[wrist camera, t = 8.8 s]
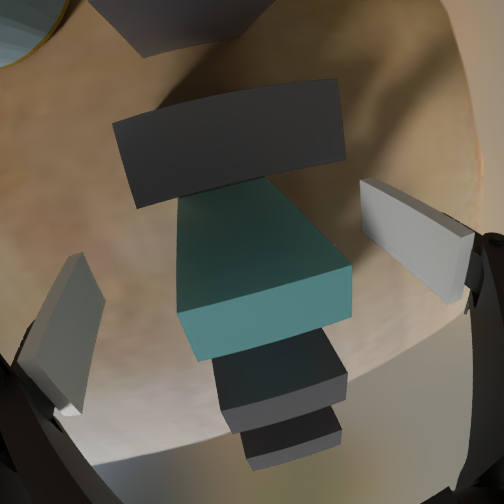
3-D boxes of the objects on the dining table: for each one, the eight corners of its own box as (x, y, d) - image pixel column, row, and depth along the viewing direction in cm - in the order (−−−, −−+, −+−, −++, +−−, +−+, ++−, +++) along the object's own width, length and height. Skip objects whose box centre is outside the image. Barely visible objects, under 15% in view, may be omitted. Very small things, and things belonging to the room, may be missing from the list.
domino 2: (255, 124, 16) (346, 159, 7) (163, 146, 15) (136, 208, 7) (249, 89, 15) (336, 78, 6) (154, 110, 14) (112, 123, 6)
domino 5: (289, 332, 23) (340, 444, 14) (225, 350, 23) (253, 470, 14) (286, 313, 22) (342, 429, 13) (218, 332, 22) (246, 458, 13)
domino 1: (239, 37, 13) (313, -34, 5) (143, 58, 13) (88, 2, 4) (232, 5, 12) (295, -91, 4) (137, 25, 12) (82, -59, 3)
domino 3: (271, 209, 18) (351, 316, 10) (187, 231, 18) (198, 361, 9) (265, 177, 17) (352, 264, 9) (177, 198, 17) (176, 313, 8)
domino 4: (281, 279, 21) (345, 399, 12) (207, 299, 20) (232, 434, 11) (277, 253, 20) (347, 372, 11) (199, 274, 19) (220, 411, 11)
